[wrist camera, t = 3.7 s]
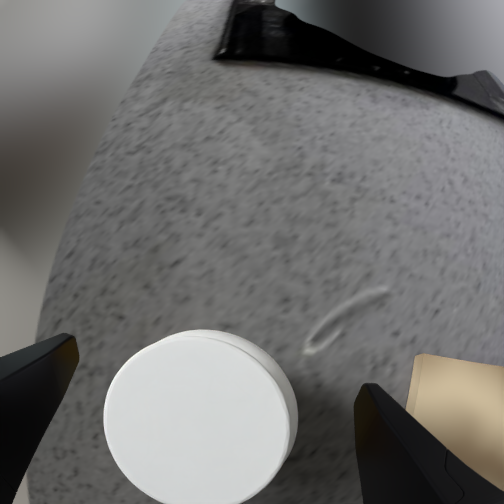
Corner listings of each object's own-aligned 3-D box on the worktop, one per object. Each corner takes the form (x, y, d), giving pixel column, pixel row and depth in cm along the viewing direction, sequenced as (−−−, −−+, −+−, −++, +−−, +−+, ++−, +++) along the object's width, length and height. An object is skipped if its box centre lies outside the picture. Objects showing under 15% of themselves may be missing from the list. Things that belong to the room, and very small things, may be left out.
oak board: (487, 543, 9) (495, 546, 8) (349, 569, 10) (355, 576, 9) (530, 373, 15) (539, 371, 14) (414, 356, 16) (423, 353, 15)
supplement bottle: (265, 349, 16) (304, 288, 7) (279, 449, 13) (338, 518, 5) (161, 359, 15) (71, 308, 6) (172, 458, 13) (94, 528, 4)
